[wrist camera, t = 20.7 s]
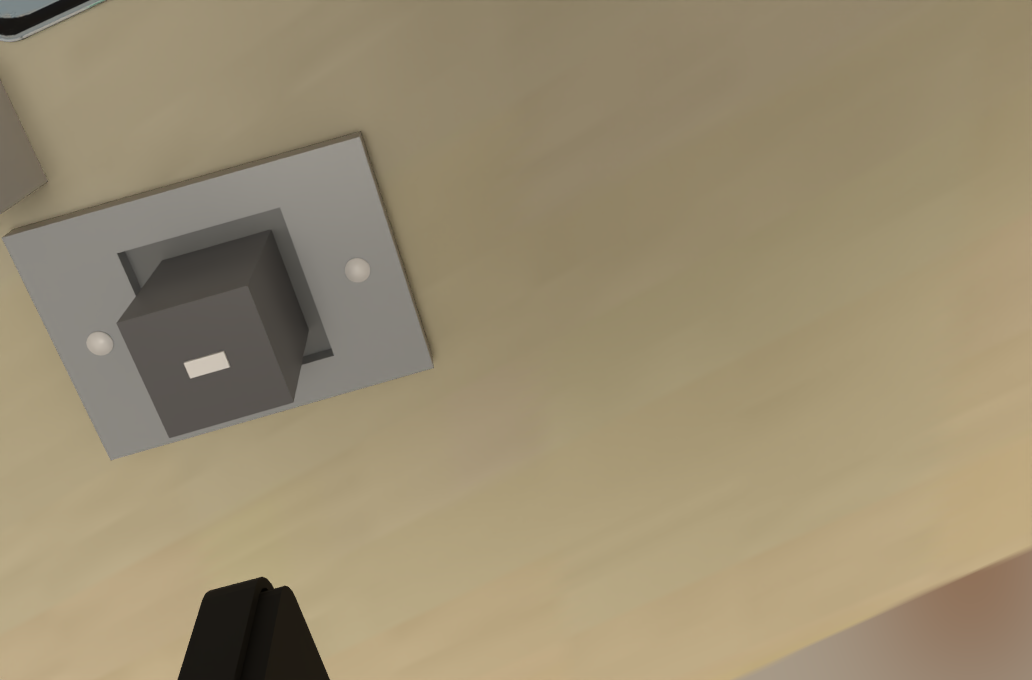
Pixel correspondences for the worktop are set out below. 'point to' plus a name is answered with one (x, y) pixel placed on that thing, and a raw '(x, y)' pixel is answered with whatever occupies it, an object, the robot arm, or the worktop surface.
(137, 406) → the outlet plate
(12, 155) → the cable plug
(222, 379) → the block
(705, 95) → the worktop surface
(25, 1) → the smartphone
